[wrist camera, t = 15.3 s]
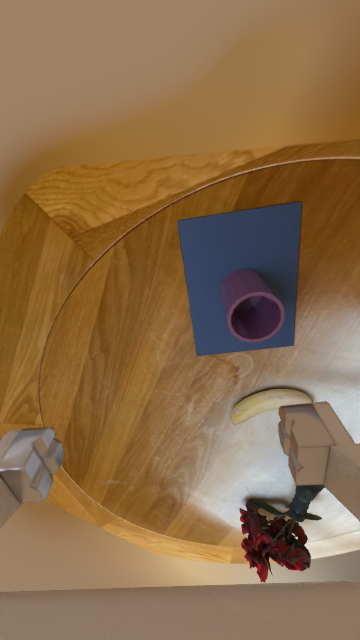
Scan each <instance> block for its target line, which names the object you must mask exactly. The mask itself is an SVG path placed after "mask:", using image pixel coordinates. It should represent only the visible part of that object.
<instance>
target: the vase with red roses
mask: <svg viewBox="0 0 360 640" xmlns="http://www.w3.org/2000/svg"><path fill="white" fill-rule="evenodd" d="M323 488H325V486H324V485H296V494H295V497H294V498H293V502H292V503H291V506H290V509H289V511H287V512H284V513H281V512H279V511H278V510H276V509H275V508H273V507H272V506H270V505H268V504H266V503H264V502H261V501H255V500H253V499H251V500H249V501H248V502H247V503H246V508H247V511H245V510H243V509H241V508H240V513H241V515H242V516H241V517H240V521H241V522H243V523H244V524H242V525H241V526H242V533H243V534H246V533H249V535H248V539H247V538H246V537H245V539H243V541H242V543H241V545H242V548H243V549H244V550H245V551H246V555H245V556H244V557H245V558H246V559H247V561H249V563H250V568H251V567H253V568H254V567H255V566H256V567H257V569H258V570H257V574H258V575H259V577H260V579H261V582H265V580H266V579H267V576H268V569H269V570H270V571H271V568H270V563H269V557H270V558H271V559H272V560H274V561H275V562H277V563H278V564H279V565H281V566H282V567H283V566H284V565H285V566H286V567H287V568H288V569H289V570H300V571H303V570H305V569H307V568H309V567H310V562H311V556H310V553H309V551H308V549H307V548H306V547H305V546H304V545H305V543H306V542H307V539H308V538H307V536H306V535H305V532H304V530H303V528H302V527H301V526H299V525H298V524H299V523H298V522H303V521H304V520H305V519H309V520H320V519H322V518H321V517H319V516H317V515H313V514H310V513H307V509H308V508H309V504H310V501H312V500H313V499H314V498H315V497H316V496H317V494H318V493H319V492H320V491H321V490H322V489H323ZM258 508H263V509H265V510H266V511H268V512H270V513H271V514H274V515H276V516H277V517H275V518H274V519H273V520H269V521H268V520H266V516H262V515H261V514H259V513H258ZM286 515H288V516H289V517H291V518H292V519H289V520H287V522H286V520H285V519H283V518H284V517H285V516H286ZM296 521H297V522H296ZM268 524H271V525H268ZM283 530H284V531H283ZM291 533H293V534H295V536H296V537H298V540H297V539H296V538H295V536H293V535H292V534H291ZM267 551H268V552H267ZM271 574H272V573H271Z"/></svg>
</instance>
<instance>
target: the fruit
mask: <svg viewBox="0 0 360 640" xmlns="http://www.w3.org/2000/svg"><path fill="white" fill-rule="evenodd" d="M304 403H313V402H312V400H311V399H310V397H309V396H308V395H306V394H305V393H302V392H299V391H296V390H291V389H272V390H267V391H262V392H259V393H256V394H253V395H251V396H249V397H247V398H245V399H243V400H241V401H240V402H239V403H238V404H236V405H235V406H234V408H233V409H232V412H231V417H230V418H231V421H232V424H233V425H237V424H240V423H243V422H245V421H247V420H248V419H250V418H251V417H253V416H255V415H257V414H259V413H261V412H264V411H268V410H272V409H279V407H280V406H285V405H294V404H304Z"/></svg>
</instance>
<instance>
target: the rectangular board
mask: <svg viewBox="0 0 360 640" xmlns="http://www.w3.org/2000/svg"><path fill="white" fill-rule="evenodd" d="M301 206H302V202H301V201H300V202H294V203H287V204H281V205H274V206H268V207H262V208H255V209H249V210H242V211H236V212H229V213H223V214H217V215H210V216H204V217H197V218H191V219H184V220H178V228H179V235H180V241H181V248H182V255H183V262H184V269H185V276H186V283H187V290H188V296H189V303H190V310H191V317H192V324H193V331H194V338H195V345H196V351H197V356H202V355H211V354H221V353H230V352H239V351H248V350H257V349H266V348H276V347H285V346H293V345H294V329H295V311H296V294H297V276H298V258H299V241H300V223H301ZM239 269H250V270H253V271H255V272H257V273H258V274H259V275H260V276H261V277H262V278H263V279H264V280H265V282H266V283H267V284H268V285H269V287H270V288H271V289H272V291H273V292H274V293H275V295H276V296H277V297H278V298H279V300H280V301H281V303H282V305H283V307H284V309H285V316H284V322H283V324H282V326H281V328H280V330H279V331H277V332H276V333H275V334H274V335H273V336H272V337H270V338H268V339H266V340H264V341H261V342H252V343H250V342H246V341H242V340H240V339H238V338H237V337H235V336H234V335H233V334H232V333H231V331H230V329H229V328H228V325H227V321H226V318H225V314H224V311H223V307H222V304H221V300H220V294H219V291H220V286H221V283H222V281H223V280H224V278H225V277H226V276H227V275H229V274H230V273H231V272H233V271H236V270H239Z"/></svg>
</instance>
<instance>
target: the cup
mask: <svg viewBox="0 0 360 640" xmlns="http://www.w3.org/2000/svg"><path fill="white" fill-rule="evenodd" d="M219 294H220V300H221V304H222V307H223V311H224V314H225V318H226V321H227V325H228V328H229V329H230V331H231V333H232V334H233V335H234V336H235V337H237V338H238V339H240V340H242V341H246V342H250V343H252V342H261V341H264V340H266V339H268V338H270V337H272V336H273V335H274V334H275V333H276V332H277V331H279V330H280V328H281V326H282V324H283V322H284V316H285V309H284V307H283V305H282V303H281V301H280V300H279V298H278V297H277V296H276V295H275V293H274V292H273V291H272V289H271V288H270V287H269V285H268V284H267V283H266V282H265V280H264V279H263V278H262V277H261V276H260V275H259V274H258V273H257V272H255V271H253V270H250V269H239V270H236V271H233V272H231V273H230V274H229V275H227V276H226V277H225V278H224V280H223V281H222V283H221V286H220V291H219Z"/></svg>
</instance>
